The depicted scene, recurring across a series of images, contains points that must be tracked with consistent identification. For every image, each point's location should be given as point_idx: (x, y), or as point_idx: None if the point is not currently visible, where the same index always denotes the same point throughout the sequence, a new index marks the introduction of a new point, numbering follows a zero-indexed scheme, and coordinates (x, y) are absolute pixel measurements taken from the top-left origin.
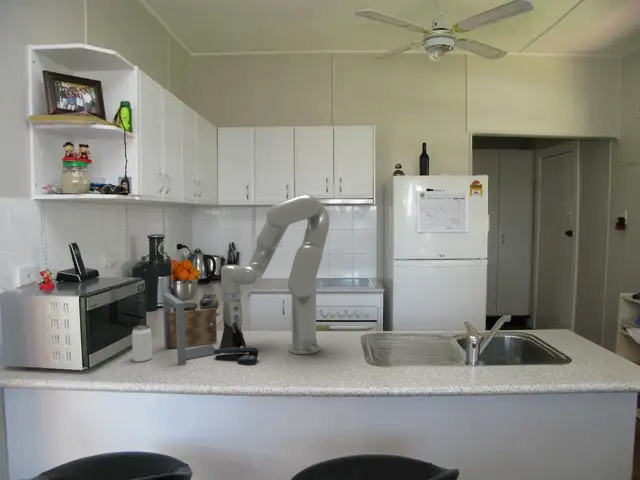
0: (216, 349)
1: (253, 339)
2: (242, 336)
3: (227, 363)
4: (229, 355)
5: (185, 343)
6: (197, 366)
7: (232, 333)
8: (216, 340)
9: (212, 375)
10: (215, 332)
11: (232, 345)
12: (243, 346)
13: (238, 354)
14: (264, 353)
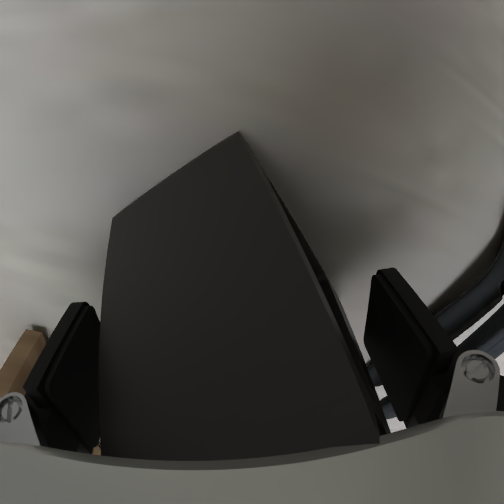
0: (389, 416)
1: (33, 27)
2: (287, 222)
3: (468, 331)
4: (456, 337)
5: (93, 453)
6: (398, 424)
7: (410, 418)
8: (38, 341)
9: (501, 375)
10: (15, 390)
11: (347, 319)
12: (262, 169)
13: (499, 295)
14: (481, 74)
